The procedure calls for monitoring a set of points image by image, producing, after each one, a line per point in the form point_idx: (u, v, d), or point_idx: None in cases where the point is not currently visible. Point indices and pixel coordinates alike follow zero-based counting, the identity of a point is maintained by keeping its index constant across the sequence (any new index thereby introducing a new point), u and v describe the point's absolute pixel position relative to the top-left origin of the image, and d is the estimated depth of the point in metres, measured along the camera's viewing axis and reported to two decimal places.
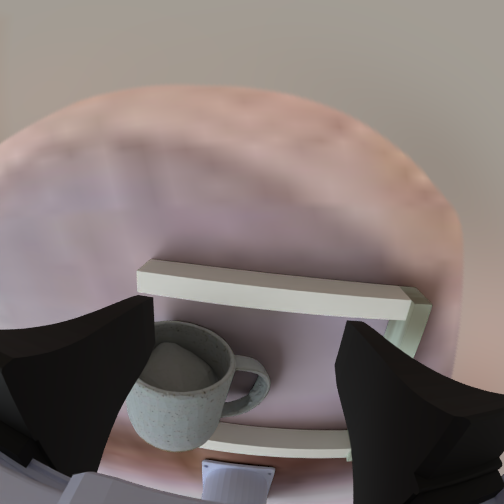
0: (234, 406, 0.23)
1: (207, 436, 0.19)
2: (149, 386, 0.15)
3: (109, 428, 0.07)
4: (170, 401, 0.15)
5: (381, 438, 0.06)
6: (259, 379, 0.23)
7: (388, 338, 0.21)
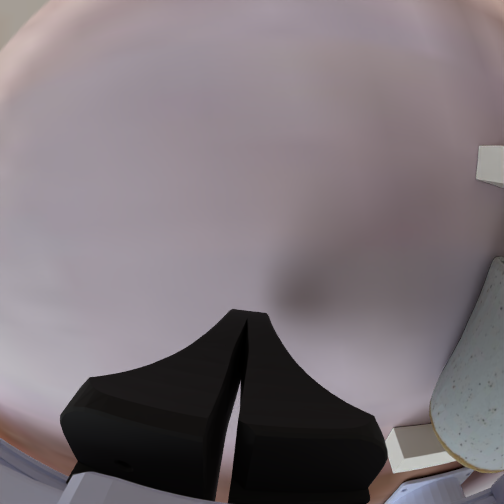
0: None
1: None
2: None
3: None
4: None
5: None
6: None
7: None
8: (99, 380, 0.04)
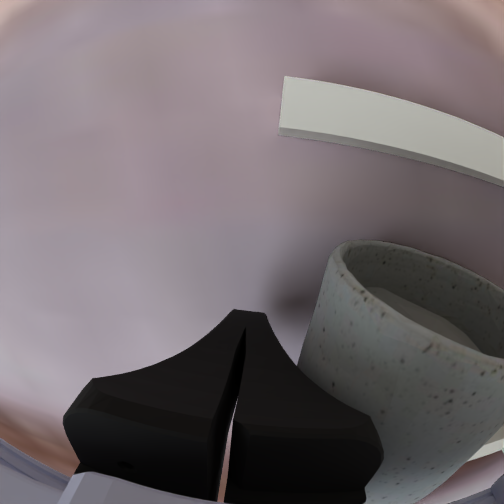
0: None
1: None
2: None
3: None
4: None
5: None
6: None
7: None
8: (102, 381, 0.04)
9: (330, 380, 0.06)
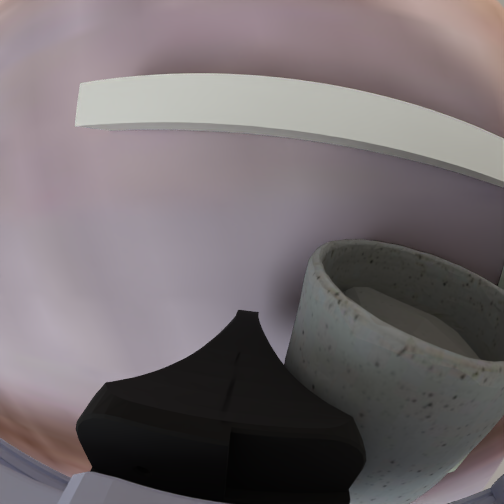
0: None
1: None
2: (489, 364, 0.04)
3: None
4: None
5: None
6: None
7: None
8: (117, 386, 0.04)
9: (310, 383, 0.06)
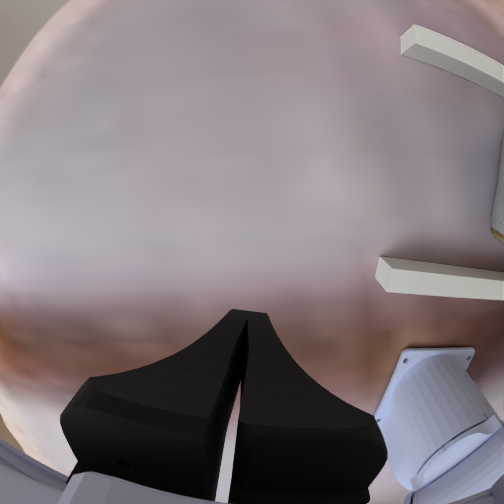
0: None
1: None
2: None
3: None
4: None
5: None
6: None
7: None
8: (99, 380, 0.04)
9: None
